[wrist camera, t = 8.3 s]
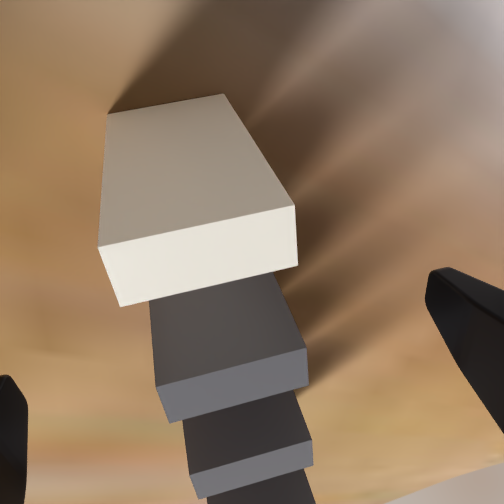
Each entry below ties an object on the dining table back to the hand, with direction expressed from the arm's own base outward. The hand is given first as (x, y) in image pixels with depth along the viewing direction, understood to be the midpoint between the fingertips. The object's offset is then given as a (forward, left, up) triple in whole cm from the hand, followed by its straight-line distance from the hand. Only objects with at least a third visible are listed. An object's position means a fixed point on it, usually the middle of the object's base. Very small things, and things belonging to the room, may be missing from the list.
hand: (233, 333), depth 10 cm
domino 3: (0, -11, -13) cm, 17 cm away
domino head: (0, 0, -13) cm, 13 cm away
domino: (0, -6, -13) cm, 14 cm away
